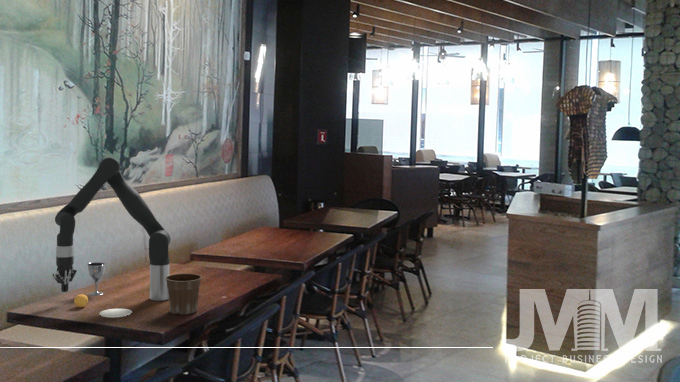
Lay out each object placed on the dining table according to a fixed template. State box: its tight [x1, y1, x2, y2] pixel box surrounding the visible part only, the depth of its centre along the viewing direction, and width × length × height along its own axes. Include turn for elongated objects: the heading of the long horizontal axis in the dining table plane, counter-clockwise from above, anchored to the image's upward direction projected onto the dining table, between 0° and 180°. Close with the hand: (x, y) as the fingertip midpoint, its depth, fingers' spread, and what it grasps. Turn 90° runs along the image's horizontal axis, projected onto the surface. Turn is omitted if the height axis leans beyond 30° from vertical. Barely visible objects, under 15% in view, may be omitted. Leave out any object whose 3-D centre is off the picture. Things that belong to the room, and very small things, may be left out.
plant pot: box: [165, 273, 203, 316], centre depth 320 cm, size 16×16×16 cm
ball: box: [73, 293, 89, 308], centre depth 323 cm, size 6×6×6 cm
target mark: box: [99, 308, 133, 318], centre depth 315 cm, size 14×14×1 cm
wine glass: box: [87, 261, 106, 297], centre depth 347 cm, size 8×8×15 cm
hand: (64, 291), depth 326 cm, fingers closed
